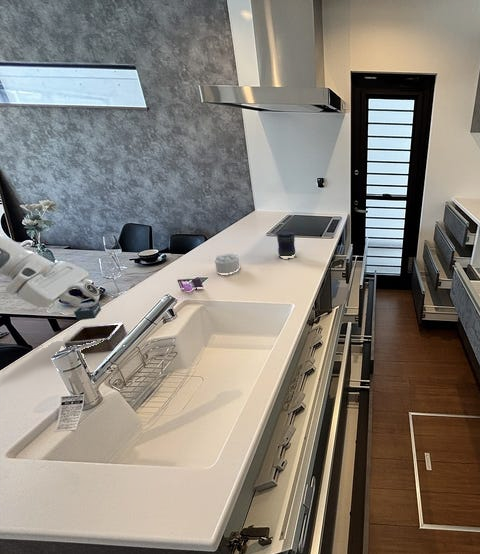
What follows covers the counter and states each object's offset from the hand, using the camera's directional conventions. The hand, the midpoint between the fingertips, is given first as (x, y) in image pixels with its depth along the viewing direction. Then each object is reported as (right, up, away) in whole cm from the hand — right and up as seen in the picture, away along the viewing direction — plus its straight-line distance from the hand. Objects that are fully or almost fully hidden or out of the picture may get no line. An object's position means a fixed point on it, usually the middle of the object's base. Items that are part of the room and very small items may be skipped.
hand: (86, 298), depth 95 cm
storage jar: (+39, +19, +87) cm, 98 cm away
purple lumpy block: (+9, 0, +41) cm, 42 cm away
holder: (-1, -15, +5) cm, 16 cm away
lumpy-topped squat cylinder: (+15, +9, +63) cm, 66 cm away
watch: (-1, -6, +2) cm, 6 cm away
